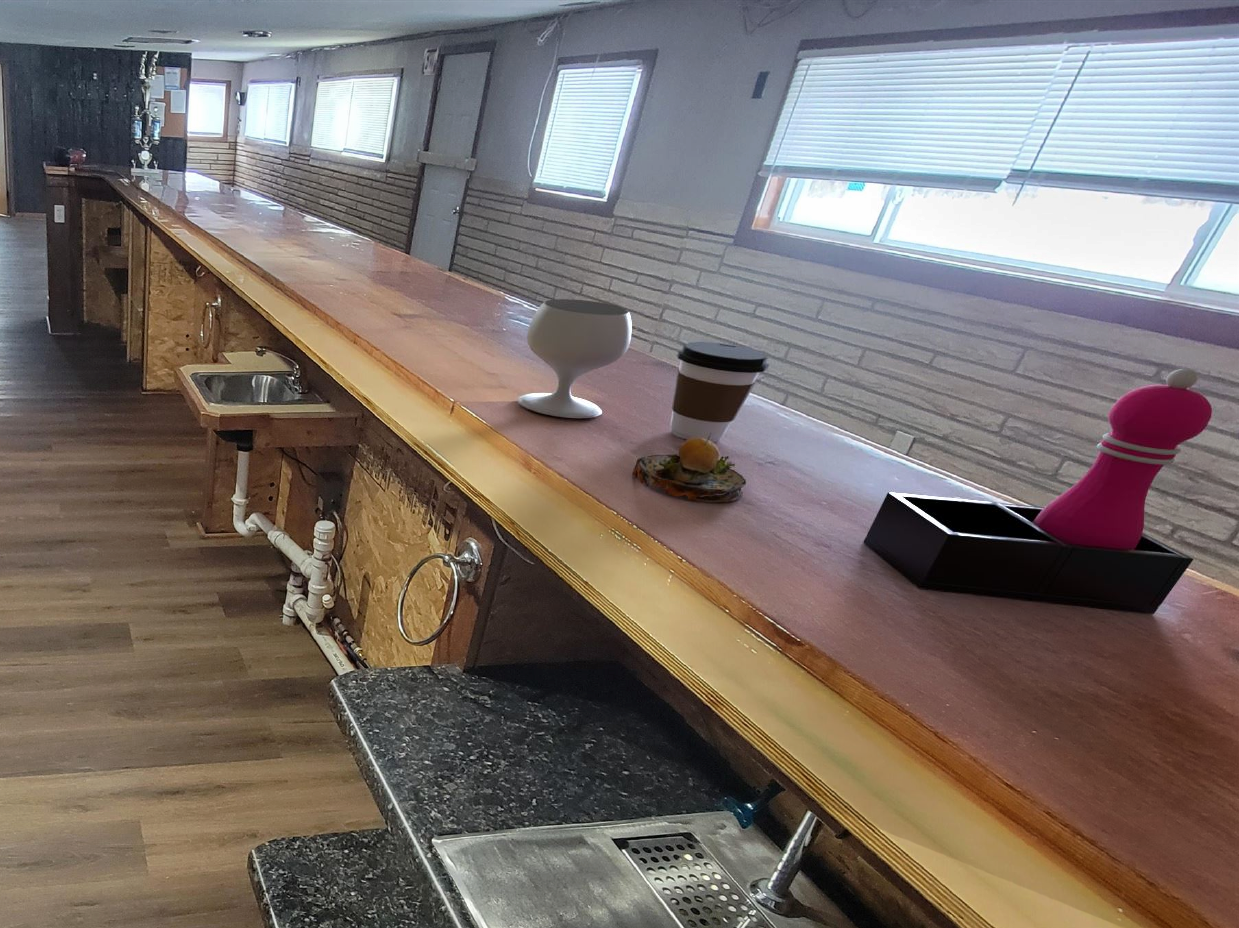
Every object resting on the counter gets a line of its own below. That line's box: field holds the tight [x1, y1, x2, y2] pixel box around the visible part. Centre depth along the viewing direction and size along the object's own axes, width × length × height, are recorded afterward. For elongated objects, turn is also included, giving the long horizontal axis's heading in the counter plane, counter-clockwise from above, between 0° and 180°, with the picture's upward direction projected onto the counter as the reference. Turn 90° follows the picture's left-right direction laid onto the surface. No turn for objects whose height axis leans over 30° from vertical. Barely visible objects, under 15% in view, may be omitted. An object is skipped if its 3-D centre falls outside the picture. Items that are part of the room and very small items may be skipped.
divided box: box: [863, 491, 1194, 615], centre depth 81 cm, size 20×10×6 cm, turn 80°
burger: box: [632, 432, 747, 503], centre depth 99 cm, size 12×12×8 cm
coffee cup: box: [670, 341, 770, 443], centre depth 115 cm, size 11×11×12 cm
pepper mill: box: [1033, 368, 1213, 550], centre depth 76 cm, size 7×7×20 cm
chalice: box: [517, 298, 633, 419], centre depth 123 cm, size 14×14×15 cm
